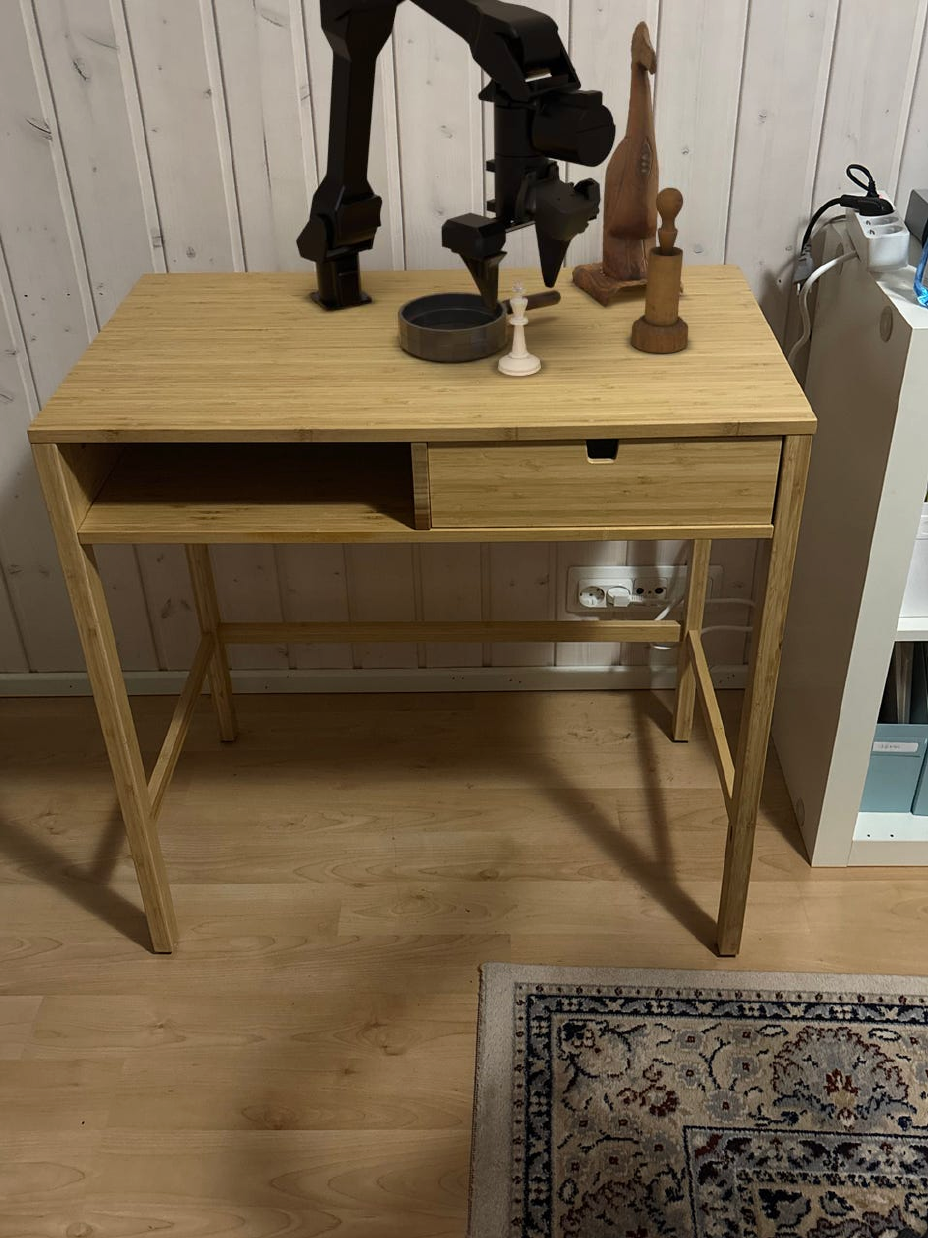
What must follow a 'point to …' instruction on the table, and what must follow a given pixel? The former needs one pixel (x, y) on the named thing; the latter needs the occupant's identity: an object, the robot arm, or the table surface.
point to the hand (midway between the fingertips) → (521, 297)
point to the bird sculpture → (629, 188)
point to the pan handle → (535, 301)
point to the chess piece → (519, 341)
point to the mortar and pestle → (663, 285)
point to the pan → (452, 327)
